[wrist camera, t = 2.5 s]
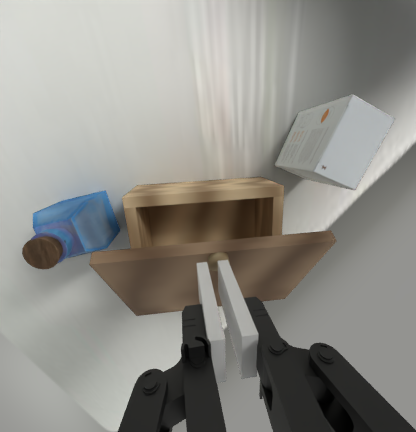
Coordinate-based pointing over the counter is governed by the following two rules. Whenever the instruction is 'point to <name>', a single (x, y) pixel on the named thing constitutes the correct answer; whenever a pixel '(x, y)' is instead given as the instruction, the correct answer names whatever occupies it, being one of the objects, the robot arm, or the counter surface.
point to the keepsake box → (203, 211)
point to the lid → (211, 253)
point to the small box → (335, 141)
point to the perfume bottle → (71, 230)
